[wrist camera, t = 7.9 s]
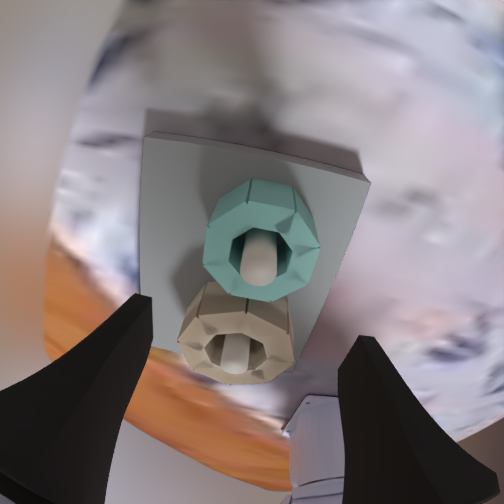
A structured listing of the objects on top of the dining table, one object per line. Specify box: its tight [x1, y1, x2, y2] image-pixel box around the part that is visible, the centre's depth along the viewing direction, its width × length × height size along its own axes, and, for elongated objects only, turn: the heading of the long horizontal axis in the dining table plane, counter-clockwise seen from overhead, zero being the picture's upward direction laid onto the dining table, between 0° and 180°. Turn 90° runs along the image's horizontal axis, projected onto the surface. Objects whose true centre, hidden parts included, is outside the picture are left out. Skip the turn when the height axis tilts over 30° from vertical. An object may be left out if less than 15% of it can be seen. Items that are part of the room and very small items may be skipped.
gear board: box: [139, 132, 371, 374], centre depth 18 cm, size 16×12×6 cm
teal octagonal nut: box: [203, 178, 320, 302], centre depth 16 cm, size 5×5×3 cm
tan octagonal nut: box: [177, 281, 294, 385], centre depth 19 cm, size 7×7×3 cm
